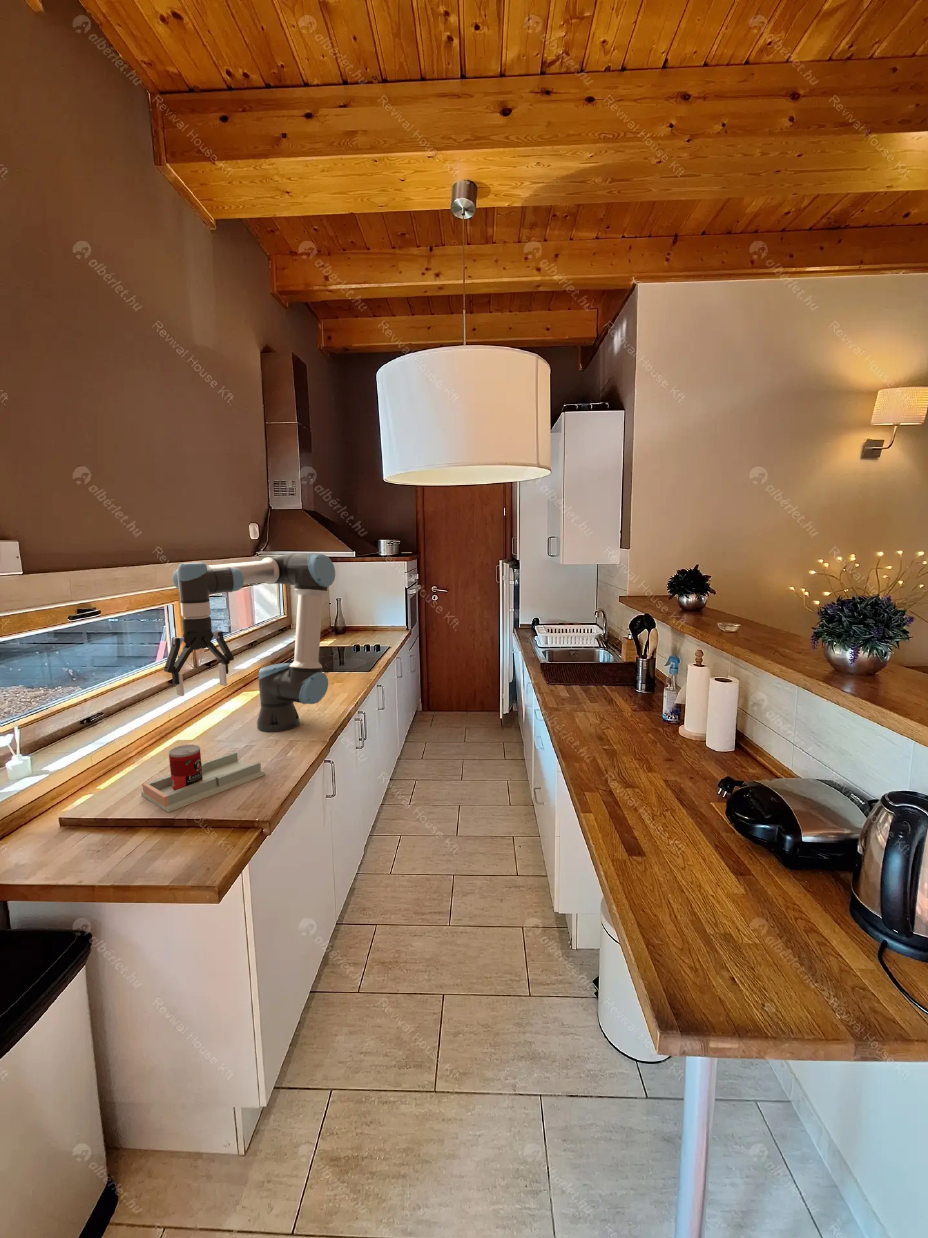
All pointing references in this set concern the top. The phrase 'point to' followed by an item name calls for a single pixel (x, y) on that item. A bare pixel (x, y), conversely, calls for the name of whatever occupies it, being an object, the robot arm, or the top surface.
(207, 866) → the top surface
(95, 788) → the top surface
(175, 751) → the canned food
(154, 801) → the grey miter box
